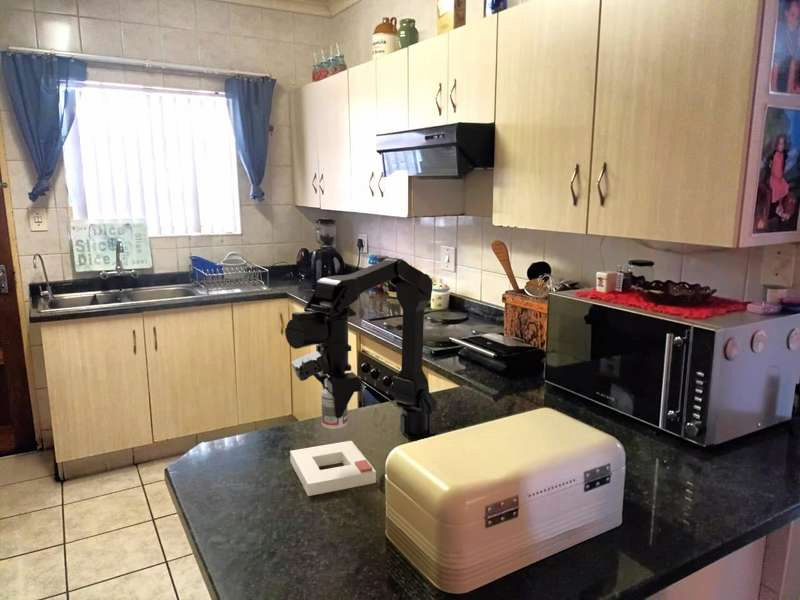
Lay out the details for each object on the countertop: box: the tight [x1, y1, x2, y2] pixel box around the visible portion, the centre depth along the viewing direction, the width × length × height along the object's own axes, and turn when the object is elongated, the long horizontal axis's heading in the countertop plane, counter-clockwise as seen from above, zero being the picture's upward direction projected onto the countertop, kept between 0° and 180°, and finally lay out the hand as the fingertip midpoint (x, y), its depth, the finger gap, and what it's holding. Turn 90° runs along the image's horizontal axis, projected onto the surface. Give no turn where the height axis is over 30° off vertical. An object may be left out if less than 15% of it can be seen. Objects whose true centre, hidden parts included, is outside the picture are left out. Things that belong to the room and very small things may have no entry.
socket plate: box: [289, 440, 377, 497], centre depth 122 cm, size 14×16×3 cm
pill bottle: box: [320, 377, 349, 430], centre depth 120 cm, size 5×5×10 cm
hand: (334, 412), depth 121 cm, fingers closed on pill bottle, 5 cm apart
